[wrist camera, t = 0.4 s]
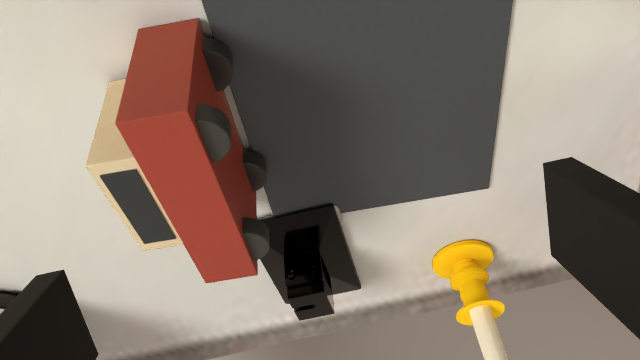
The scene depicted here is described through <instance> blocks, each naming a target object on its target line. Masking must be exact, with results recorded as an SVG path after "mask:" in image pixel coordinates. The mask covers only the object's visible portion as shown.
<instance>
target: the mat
mask: <svg viewBox="0 0 640 360" xmlns="http://www.w3.org/2000/svg"><path fill="white" fill-rule="evenodd" d="M202 3H203V6H204V9H205V12H206V15H207V18H208V21H209V24H210V27H211V30H212V33H213V36H214V39H215V40H217V41H220V42H221V43H223V44H224V45H225V46H226V47H227V48H228V49H229V50H230V52H231V54H232V57H233V77H232V80H231V82H230V87H231V90H232V93H233V96H234V99H235V102H236V105H237V108H238V111H239V114H240V117H241V120H242V122H243V125H244V128H245V131H246V134H247V137H248V140H249V143H250V146H251V149H252V152H255V153H258V154H259V155H261V156H262V157H263V158H264V160H265V161H266V166H267V181H266V183H265V185H264V188H265V191H266V194H267V197H268V200H269V203H270V206H271V209H272V212H273V215H277V214H282V213H286V212H291V211H295V210H300V209H304V208H309V207H313V206H318V205H322V204H327V203H333V204H334V205H336V206H337V207H339V210H340V213H344V212H350V211H356V210H362V209H368V208H374V207H380V206H386V205H392V204H398V203H404V202H410V201H416V200H422V199H428V198H434V197H440V196H446V195H452V194H458V193H464V192H470V191H476V190H481V189H487V188H489V181H490V173H491V165H492V158H493V150H494V142H495V134H496V127H497V119H498V111H499V103H500V96H501V88H502V80H503V72H504V65H505V57H506V49H507V41H508V34H509V26H510V18H511V10H512V3H513V0H202Z"/></svg>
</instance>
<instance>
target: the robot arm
mask: <svg viewBox="0 0 640 360" xmlns="http://www.w3.org/2000/svg"><path fill="white" fill-rule="evenodd" d="M543 168H544V180H545V191H546V202H547V213H548V225H549V236H550V247H551V255H552V256H553V257H554V258H555V259H556V260H557V261H558V262H559V263H560V264H561V265H562V266H563V267H564V268H565V269H566V270H567V271H568V272H569V273H570V274H572V275H573V276H574V277H575V278H576V279H577V280H578V281H579V282H580V283H581V284H582V285H583V286H584V287H585V288H586V289H587V290H588V291H589V292H591V293H592V294H593V295H594V296H595V297H596V298H597V299H598V300H599V301H600V302H601V303H602V304H603V305H604V306H605V307H606V308H607V309H608V310H609V311H611V313H613V314H614V315H615V316H616V317H617V318H618V319H619V320H620V321H621V322H622V323H623V324H624V325H625V326H626V327H627V328H628V329H629V330H630V331H631V332H633V333H634V334H635V335H636V336H637V337H638V338H639V339H640V193H638V192H636V191H634V190H632V189H630V188H628V187H626V186H625V185H623V184H621V183H619V182H617V181H615V180H613V179H612V178H610V177H608V176H606V175H604V174H602V173H600V172H598V171H597V170H595V169H593V168H591V167H589V166H587V165H585V164H583V163H582V162H580V161H578V160H576V159H574V158H572V157H569V158H565V159H560V160H556V161H551V162H547V163H543ZM97 356H98V352H97V350H96V347H95V345H94V342H93V340H92V337H91V335H90V332H89V330H88V328H87V325H86V323H85V320H84V318H83V315H82V313H81V310H80V308H79V306H78V303H77V301H76V298H75V296H74V293H73V291H72V288H71V286H70V284H69V281H68V279H67V276H66V274H65V271H64V270H60V271H55V272H51V273H46V274H42V275H37V276H36V277H35V278H34V279H33V280H32V281H31V282H30V283H29V284H28V285H27V286H26V287H25V288H24V289H23V290H22V291H21V292H20V294H19V295H18V296H17V297H16V298H15V299H14V300H13V301H12V302H11V303H10V304H9V305H8V306H7V307H6V308H5V309H4V311H3V312H2V313H1V314H0V360H96V358H97Z"/></svg>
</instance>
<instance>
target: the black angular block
mask: <svg viewBox="0 0 640 360" xmlns="http://www.w3.org/2000/svg"><path fill="white" fill-rule="evenodd" d="M258 220H260V221H262V222H263V223H265V224H266V226H267V227H268V229H269V250H268V252H267V254H266V255H265V256H263V257H262V258H260V260H261V261H262V263H263V265H264V267H265V268H266V270H267V272H268V274H269V275H270V277H271V279H272V281H273V282H274V284H275V286H276V288H277V289H278V291H279V293H280V295H281V296H282V298H283V300H284V302H285V303H286V304H289V303H290V305H291V307H292V308H294V312H295V314H296V315H297V317H298V319H299V320H305V319H310V318H315V317H320V316H325V315H330V314H334V301H333V294H338V293H343V292H348V291H353V290H358V289H361V284H360V281H359V278H358V275H357V272H356V269H355V266H354V263H353V260H352V257H351V254H350V251H349V248H348V245H347V242H346V240H345V237H344V234H343V231H342V228H341V225H340V223H341V222H342V216H341V213H340V210H339V207H337V206H336V205H334V204H333V203H327V204H322V205H318V206H313V207H309V208H304V209H300V210H295V211H291V212H286V213H282V214H277V215H273V216H268V217H264V218H259V219H258Z"/></svg>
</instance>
